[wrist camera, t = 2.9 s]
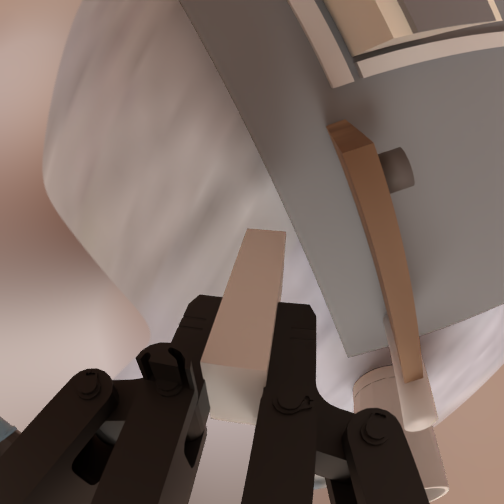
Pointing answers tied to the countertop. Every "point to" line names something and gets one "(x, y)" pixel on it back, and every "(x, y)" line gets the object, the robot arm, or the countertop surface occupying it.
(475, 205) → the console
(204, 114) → the countertop surface
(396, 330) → the door
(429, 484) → the cup
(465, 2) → the fader knob
